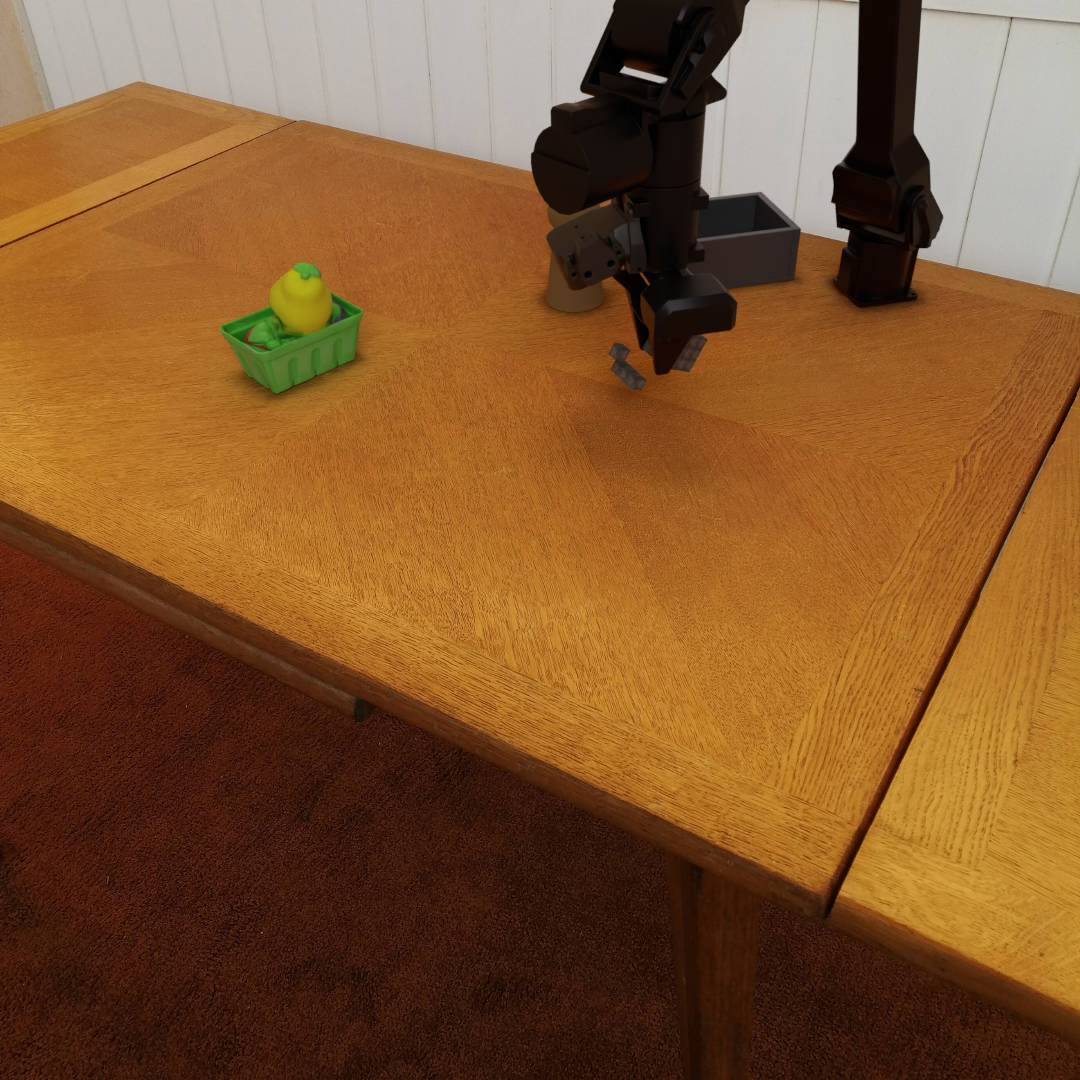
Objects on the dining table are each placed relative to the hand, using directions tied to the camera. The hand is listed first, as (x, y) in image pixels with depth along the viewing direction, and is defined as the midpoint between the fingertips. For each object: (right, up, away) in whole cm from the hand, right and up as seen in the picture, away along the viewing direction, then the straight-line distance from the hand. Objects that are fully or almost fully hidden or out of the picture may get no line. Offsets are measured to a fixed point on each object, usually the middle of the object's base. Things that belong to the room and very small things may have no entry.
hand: (653, 361), depth 83 cm
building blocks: (0, -1, +1) cm, 1 cm away
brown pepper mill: (-6, +10, +21) cm, 24 cm away
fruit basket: (-32, +1, +11) cm, 34 cm away
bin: (+9, +15, +25) cm, 30 cm away
